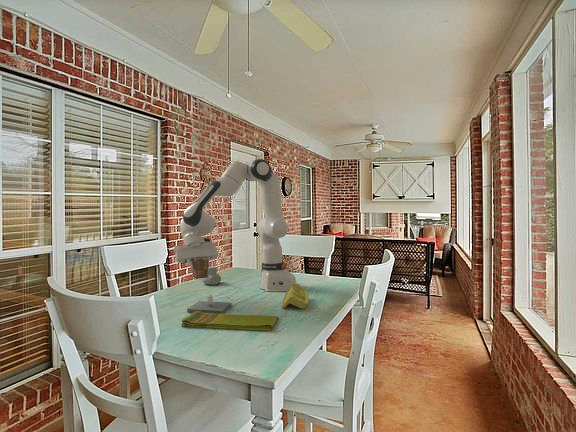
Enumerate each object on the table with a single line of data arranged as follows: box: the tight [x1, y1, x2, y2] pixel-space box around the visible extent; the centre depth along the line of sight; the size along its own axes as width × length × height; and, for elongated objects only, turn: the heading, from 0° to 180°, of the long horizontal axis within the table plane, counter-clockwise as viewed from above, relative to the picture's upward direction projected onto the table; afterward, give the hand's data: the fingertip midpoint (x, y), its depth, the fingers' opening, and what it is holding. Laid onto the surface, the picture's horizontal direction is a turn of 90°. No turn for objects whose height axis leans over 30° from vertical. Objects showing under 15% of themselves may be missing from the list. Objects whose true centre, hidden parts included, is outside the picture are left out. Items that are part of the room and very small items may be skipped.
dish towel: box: [181, 311, 279, 333], centre depth 134 cm, size 15×36×3 cm, turn 81°
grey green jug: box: [201, 265, 222, 286], centre depth 197 cm, size 11×8×10 cm
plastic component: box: [281, 283, 309, 310], centre depth 159 cm, size 20×7×10 cm
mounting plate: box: [186, 294, 233, 314], centre depth 150 cm, size 16×12×6 cm
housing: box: [191, 257, 208, 280], centre depth 160 cm, size 6×6×9 cm
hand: (200, 267), depth 159 cm, fingers closed on housing, 6 cm apart
